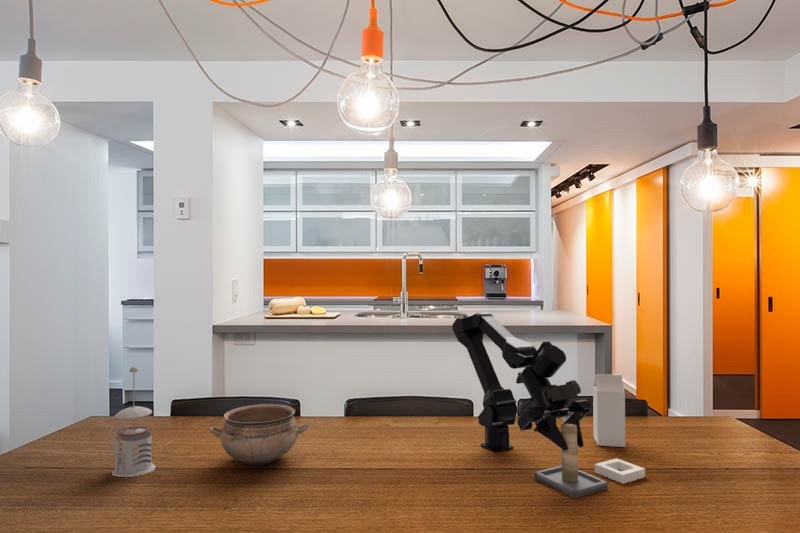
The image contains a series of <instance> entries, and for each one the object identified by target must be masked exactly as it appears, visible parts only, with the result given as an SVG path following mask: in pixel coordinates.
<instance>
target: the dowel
mask: <svg viewBox="0 0 800 533" xmlns="http://www.w3.org/2000/svg"><path fill="white" fill-rule="evenodd" d="M560 433H561V434H562V436H563V438H564V440H565V442H566V444H567V447H568V449H567V450H566V451H564V450H563V449H561V448H560V450H561V452H560V453H561V454H560V456H561V457H560V458H561V460H560V461H561V465H562V480H563V481H566V482H578V470H579V461H578V460H579V457H578V455H579V454H578V452H579V450H578V445H577V426H576V425H574V424H563V423H561V424H560Z"/></svg>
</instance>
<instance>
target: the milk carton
mask: <svg viewBox="0 0 800 533" xmlns="http://www.w3.org/2000/svg"><path fill="white" fill-rule="evenodd" d="M592 395H593V396H592V398H593V399H592V400H593V402H592V403H593V404H592V405H593V406H592V408H593V409H592V410H593V411H592V412H593V414H592V415H593V416H592V417H593V418H592V420H593V423H592V425H593V439H594V440H595V441H594V442H596V445H597V446H602V447H604V446H605V447H619V448H625V447H626V399H625V398H626V391H625V387H624V383H623V375H622V374H607V373H606V374H605V373H603V374H602V373H595V374H594V380H593V385H592Z"/></svg>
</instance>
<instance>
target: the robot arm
mask: <svg viewBox="0 0 800 533" xmlns="http://www.w3.org/2000/svg"><path fill="white" fill-rule="evenodd" d="M451 328H452V331H453V334H454V336H455V337H456V340H457V341H458V342H459V343H460V344H461V345H462V346H464V347H465V348H466V350H467V352H468V355H469V358H470V359H471V363H472V365H473V367H474V371H475V374H476V376H477V378H478V380H479V384H480V385H481V388H482V390H483V400H482V406H483V409H482V411H480V413H479V415H478V416H477V420H478V424H479V426H482V427H484V442H482V443H480V446H481V447H483V448H484V449H487V450H489V451H491V452H494V453H498V452H503V451H508V450H513V449H514V446H513V445H510V432H509V431H510V430H509V429H510V427H509V426H511V425H515V423H516V418H517V415H518V412H519V411H518V406H517V403H518V402H517V400H516V399H515V397H514V394H513V392H512V390H511V388H507V389H505V388H504V387H502V384H501V383H500V381H499V377H498V375H497V373H496V371H495V368H494V365H493V363H492V361H491V359H490V356H489V354H488V352H487V349H486V347H485V345H484V341H483V340H484V335H486V336H487V337H488V339H489V340H491V341H492V342H493V344H495V345H496V346H497V348H499V349H500V350H501V356H502V359H503V360H504V361H505V362H506V364H507V366H508V367H509V368H511V369H514V370H515V369H523V370H522V371H521V372H518V373H517V376H516V379H515V380H516V384H518V385H519V384H523V385H524V386H525V388H526V390H527V392H528V394H529V395H530V398H529V399H528V401H529V403H530V404H535V406H533V407H532V406H531V407H527V408H525V410H523V411H522V413H521V414H520V415H519V417H518V418H517V426H518V427H519V429H520V431H521V432H524V431H529V430H531V429H533V428H532V427H533V423H535V428H534V429H533V431H534V432H535V433H539V434H540V435H542V436H543V437H545V438H546V439H548V440H549V441H551V442H552V443H553V444H554V445H556V446H557V447H559V448H560V450H561V449H563V450H564V451H566V450H567V449H568V447H567V444H566V442H565V440H564V438H563V436H562V434H561V430H560V429H559V427H558V425H557V419H562V421H563V423H562V424H574V425H576V426H577V447H579V448H580V449H581V448H583V447H584V446H585V444H584V439H583V434H582V430H581V424H580V423H581V422H580V421H581V420H583V419H584V418H585V417H586V416H587V415H588V414H589V413H590V412H591V411H592V410H593V406H592V405H591V403H590V402H589V400H587V399H578V400H573V401H572V403H570V401H569V400H571V399H574V398H575V399H577V398H579V394H581V392H582V390H581V387H580V385H579V383H578V381H576V379H574V380H569V381H566V382H565V384H559V385H557V384H552V383H551V381H550V379H549V378H552V377H553V376H555V375H556V374H557V372H558V370H560V368H561V367H562V366H563V365H564V364H565V363H566V361H567V355H566V353H565V352H564V350H562V349H561V348H559V347H558V346H556V345H554V344H552V343H551V341H542V342H541V344H540V345H539V347H538V349H537V348H536V347H535V346H534V345H532V344H531V343H529V342H528V341H526V340H524V339H520V338H518V337H515V336H514V335H513V334H512V333H511V332H509V330H508V329H507V328H506V327H504V326H503V325H502V324H501V323H500V322H499V321H497V319H496V318H494V316H493V314H492V313H490V312H476V313H474V314H473V315H470V316H465V317H457V318H456V319H455V320H454V322H453V324H452V327H451ZM569 403H570V404H569ZM568 404H569V406H568V407H565V406H566V405H568Z"/></svg>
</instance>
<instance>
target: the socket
mask: <svg viewBox="0 0 800 533" xmlns="http://www.w3.org/2000/svg"><path fill="white" fill-rule="evenodd" d="M618 469H619V470H618ZM620 470H621V471H620ZM594 473H595V474H598V475H600V476H602V475H603V477H605V478H607V477H608V479H610V480H612V481H614V480H615V482H617V483H619V482H620V484H622V485H624V484H627V482H628V483H631V482H634V481H637V479H638V480H641V479H644V477H645V478H646V468H644V467H642V466H639V465H636V464H633V463H631V462H628V461H625V460H622V459H620V458H618V457H617V458H612V459H609V460H605V461H602V462H597V463H594Z"/></svg>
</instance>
